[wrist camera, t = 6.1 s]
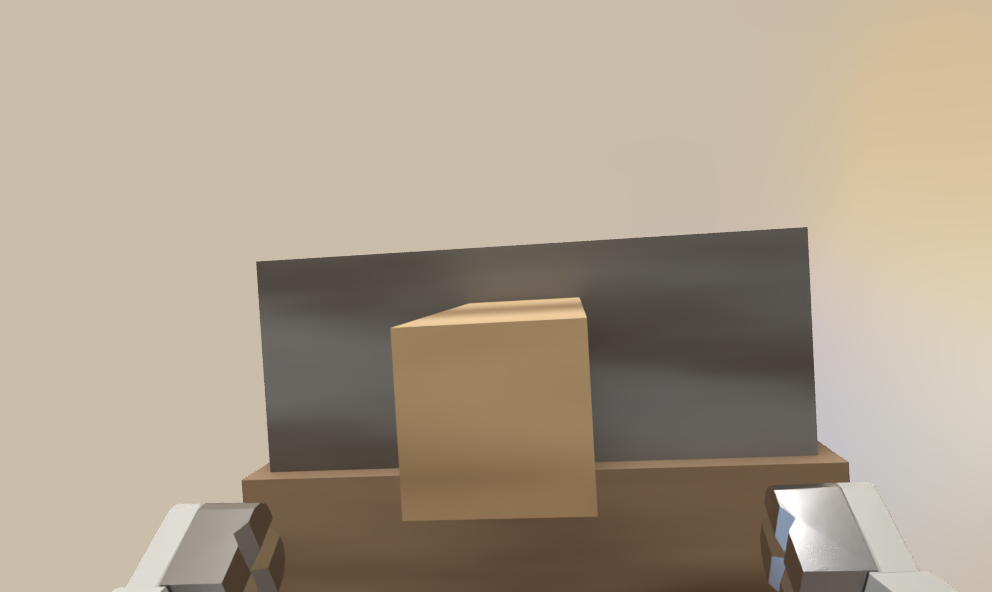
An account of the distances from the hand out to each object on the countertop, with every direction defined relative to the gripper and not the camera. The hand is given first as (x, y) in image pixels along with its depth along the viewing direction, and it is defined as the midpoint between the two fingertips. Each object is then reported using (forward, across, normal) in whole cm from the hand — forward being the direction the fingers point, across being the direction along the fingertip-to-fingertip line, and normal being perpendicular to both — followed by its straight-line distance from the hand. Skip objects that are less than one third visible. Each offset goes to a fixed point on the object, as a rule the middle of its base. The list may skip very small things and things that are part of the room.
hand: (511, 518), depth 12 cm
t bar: (+4, 0, +4) cm, 5 cm away
